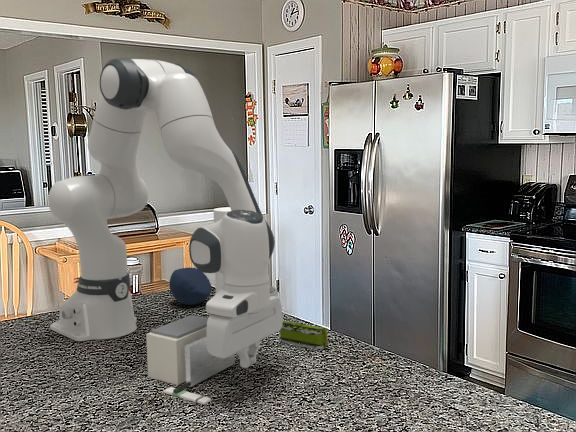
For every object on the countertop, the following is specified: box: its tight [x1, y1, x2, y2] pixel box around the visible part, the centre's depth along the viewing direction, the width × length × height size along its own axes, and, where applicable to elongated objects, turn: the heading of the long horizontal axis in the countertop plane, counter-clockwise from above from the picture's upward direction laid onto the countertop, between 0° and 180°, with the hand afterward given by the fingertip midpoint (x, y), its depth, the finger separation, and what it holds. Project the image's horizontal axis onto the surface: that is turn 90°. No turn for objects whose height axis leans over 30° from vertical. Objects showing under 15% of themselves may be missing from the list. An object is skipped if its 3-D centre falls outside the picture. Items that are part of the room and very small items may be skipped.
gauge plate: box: [173, 337, 236, 393], centre depth 125 cm, size 11×18×8 cm, turn 148°
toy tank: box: [279, 320, 329, 350], centre depth 145 cm, size 7×19×10 cm
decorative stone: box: [169, 267, 213, 306], centre depth 176 cm, size 12×12×10 cm
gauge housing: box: [145, 314, 212, 405], centre depth 123 cm, size 18×18×10 cm
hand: (248, 365), depth 119 cm, fingers closed
